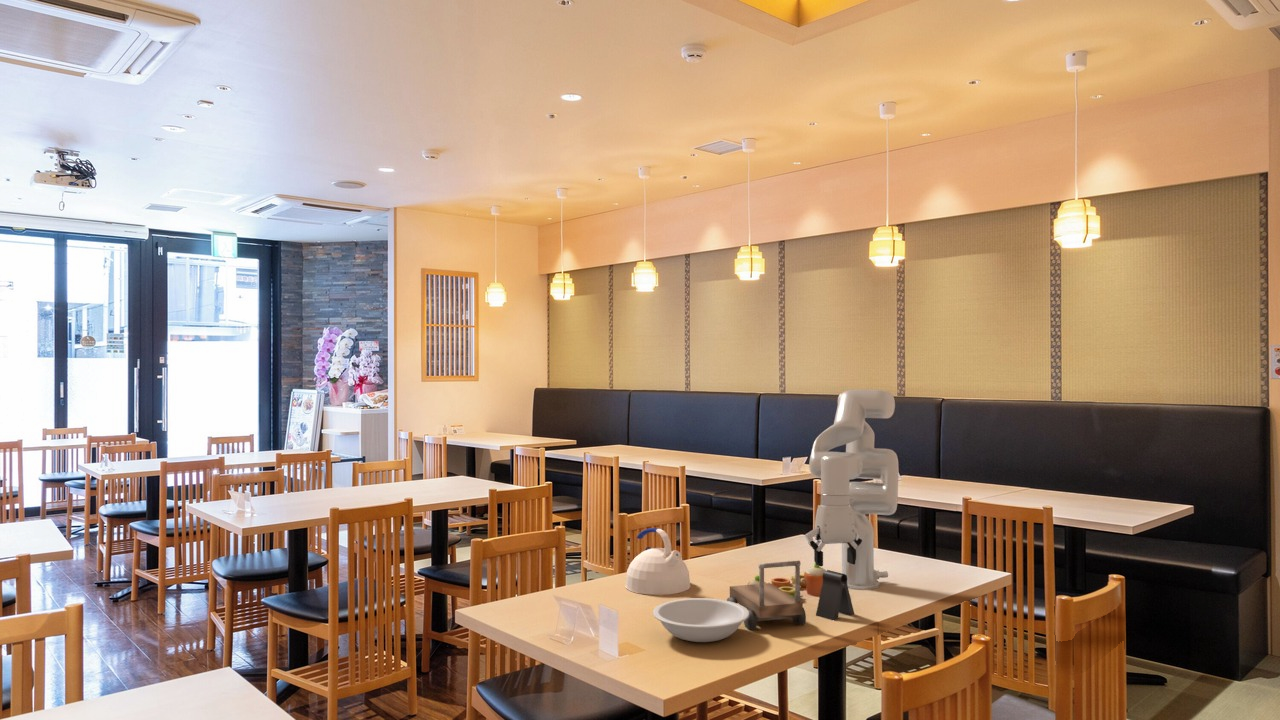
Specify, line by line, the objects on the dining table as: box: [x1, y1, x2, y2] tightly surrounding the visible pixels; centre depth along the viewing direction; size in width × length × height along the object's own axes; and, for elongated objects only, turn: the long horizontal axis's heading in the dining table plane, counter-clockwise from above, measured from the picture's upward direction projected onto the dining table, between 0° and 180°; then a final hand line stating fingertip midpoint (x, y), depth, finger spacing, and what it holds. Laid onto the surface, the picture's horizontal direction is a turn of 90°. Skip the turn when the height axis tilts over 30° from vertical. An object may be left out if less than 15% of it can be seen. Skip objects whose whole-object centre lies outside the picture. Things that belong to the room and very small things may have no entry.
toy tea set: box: [747, 563, 826, 599], centre depth 245 cm, size 26×16×10 cm, turn 124°
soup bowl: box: [652, 597, 749, 643], centre depth 208 cm, size 24×24×7 cm
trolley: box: [726, 560, 807, 631], centre depth 221 cm, size 15×20×18 cm
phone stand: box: [815, 569, 855, 621], centre depth 224 cm, size 9×6×12 cm, turn 128°
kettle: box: [624, 527, 692, 596], centre depth 256 cm, size 20×21×18 cm
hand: (835, 564), depth 224 cm, fingers open, 9 cm apart
